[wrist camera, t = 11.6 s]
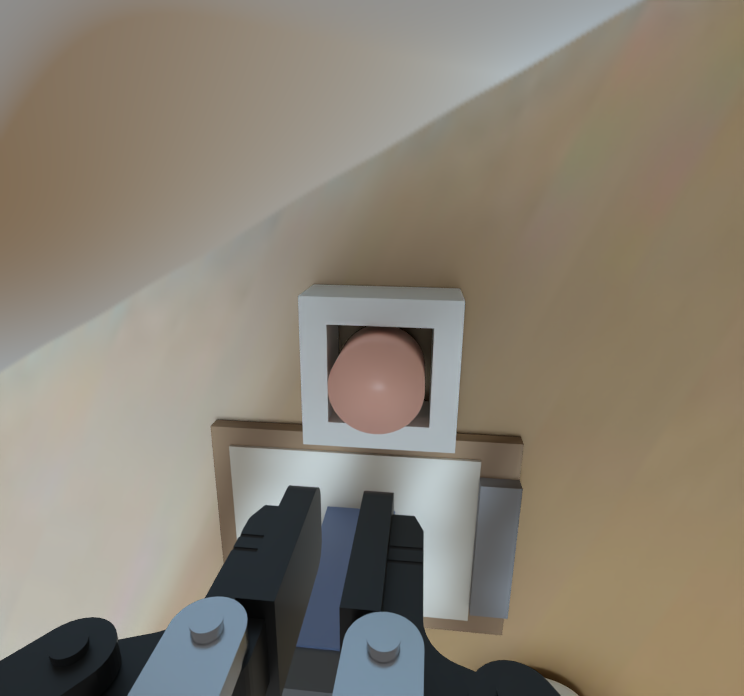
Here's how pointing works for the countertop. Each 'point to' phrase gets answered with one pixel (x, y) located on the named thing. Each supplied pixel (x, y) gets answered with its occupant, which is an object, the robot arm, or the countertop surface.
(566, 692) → the beverage can
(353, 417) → the button
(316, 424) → the button housing
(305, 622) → the blue grey block
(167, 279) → the countertop surface
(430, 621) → the clipboard
